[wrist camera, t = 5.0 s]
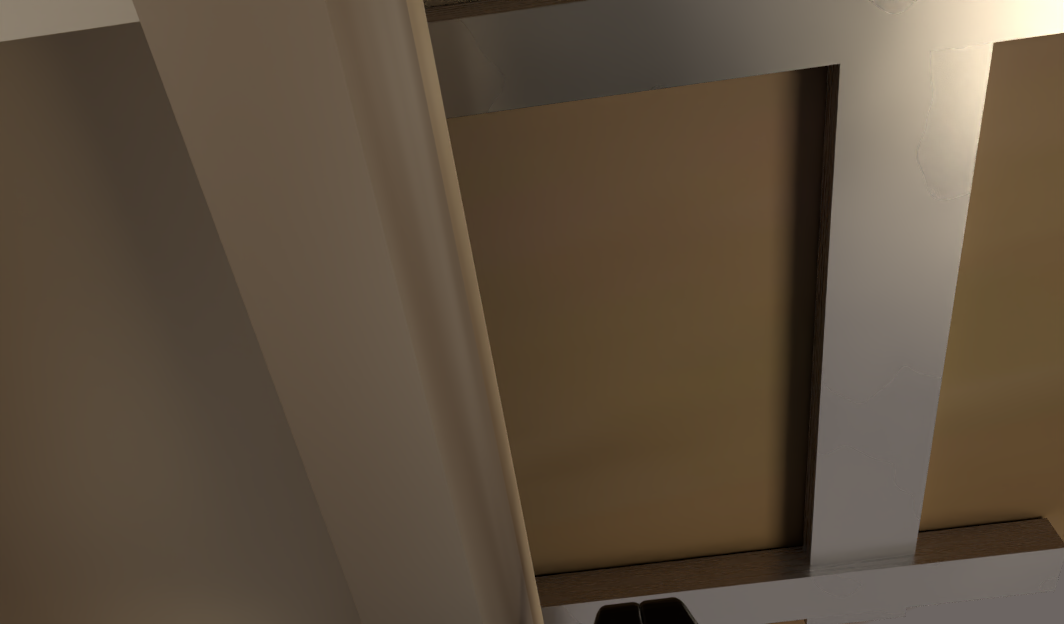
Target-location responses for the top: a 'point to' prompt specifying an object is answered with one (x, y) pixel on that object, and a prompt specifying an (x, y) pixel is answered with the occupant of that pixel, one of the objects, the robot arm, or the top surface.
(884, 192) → the framed panel
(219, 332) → the beige open rectangular box
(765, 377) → the top surface
